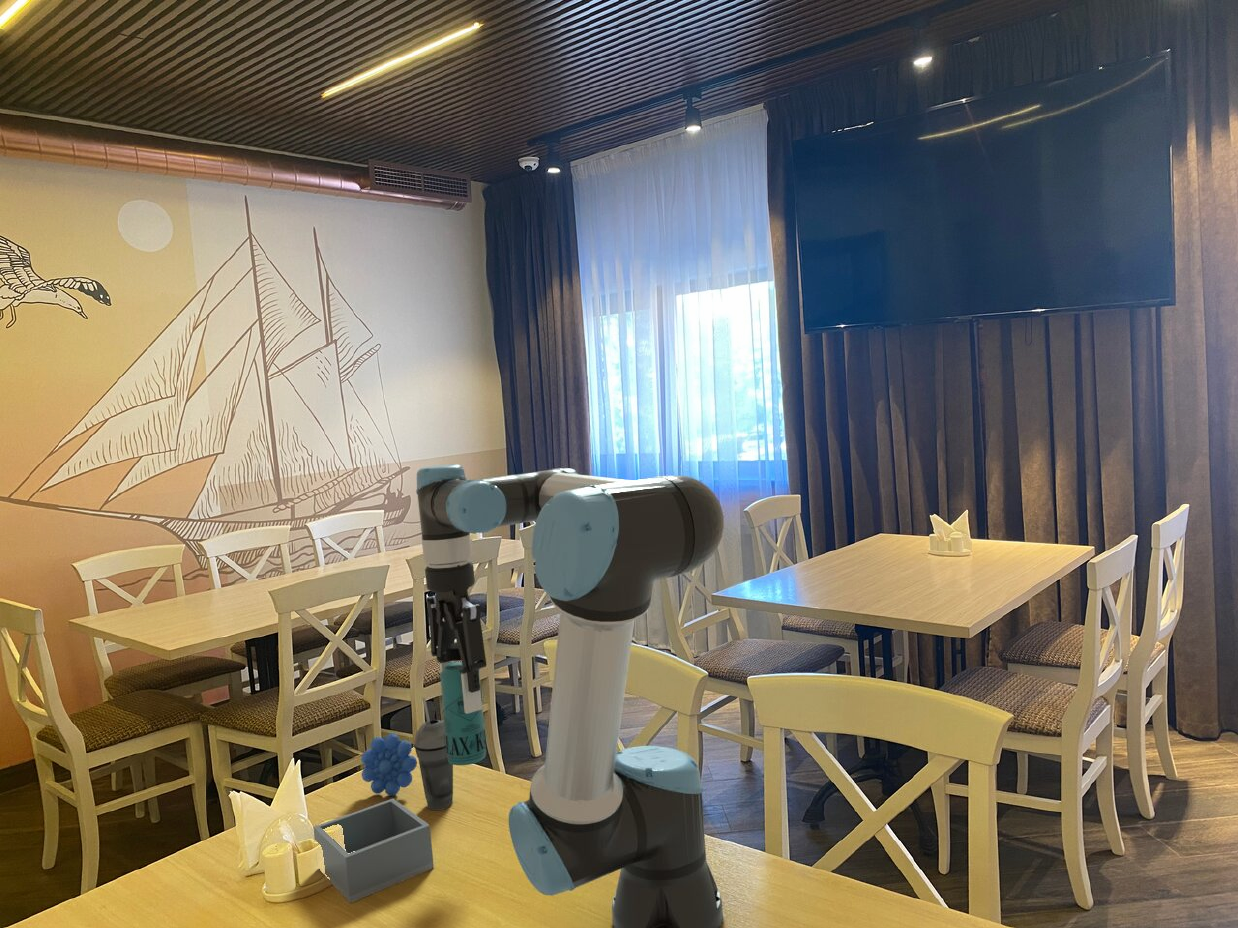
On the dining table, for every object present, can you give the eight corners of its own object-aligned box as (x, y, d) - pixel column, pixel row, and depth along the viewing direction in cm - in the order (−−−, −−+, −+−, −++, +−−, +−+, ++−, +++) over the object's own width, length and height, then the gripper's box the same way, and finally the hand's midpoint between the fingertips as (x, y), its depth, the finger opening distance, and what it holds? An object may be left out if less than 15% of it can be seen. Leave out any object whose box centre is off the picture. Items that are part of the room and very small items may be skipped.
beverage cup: (456, 812, 161) (446, 702, 159) (415, 814, 161) (405, 705, 160) (463, 793, 168) (454, 689, 167) (425, 796, 168) (415, 691, 167)
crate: (433, 867, 142) (429, 825, 142) (350, 902, 134) (345, 857, 133) (397, 838, 153) (393, 798, 152) (317, 868, 145) (313, 826, 144)
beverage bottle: (439, 769, 145) (427, 646, 143) (472, 755, 150) (460, 636, 148) (464, 778, 140) (452, 652, 139) (497, 763, 145) (486, 641, 144)
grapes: (430, 786, 173) (424, 725, 172) (413, 802, 166) (407, 739, 165) (376, 783, 176) (370, 723, 175) (357, 799, 169) (350, 737, 168)
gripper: (501, 564, 137) (514, 712, 139) (441, 553, 153) (454, 687, 154) (456, 573, 133) (471, 726, 134) (400, 561, 148) (414, 699, 150)
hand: (462, 705), depth 144 cm, fingers closed on beverage bottle, 6 cm apart
